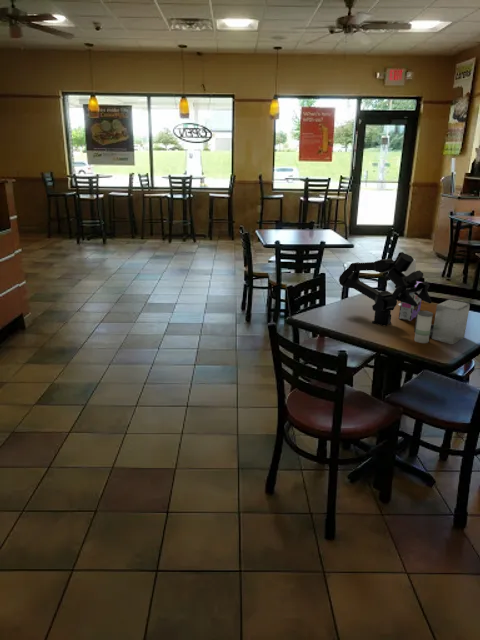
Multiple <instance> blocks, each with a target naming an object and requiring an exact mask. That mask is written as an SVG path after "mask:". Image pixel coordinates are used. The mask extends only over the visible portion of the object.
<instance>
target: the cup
mask: <svg viewBox="0 0 480 640" xmlns="http://www.w3.org/2000/svg"><path fill="white" fill-rule="evenodd" d="M433 316H434V313H433V312H432V311H428V310H420V311H418V317H417V324H416V330H415V332H414V342H416V343H419V344H428V343H429V340H430V336H429V335H430V329H431V324H432V321H433Z"/></svg>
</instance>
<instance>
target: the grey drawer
mask: <svg viewBox="0 0 480 640" xmlns="http://www.w3.org/2000/svg"><path fill="white" fill-rule="evenodd" d="M417 317H418V314H417V315H416V317H415V321H414V322H415V324H414V331H413V332H414V333H415V330H416V324H417ZM433 328H434V323H433V324H432V323H431V329H430V335H429V338H430V337H431V338H432V334H433Z"/></svg>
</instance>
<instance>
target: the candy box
mask: <svg viewBox="0 0 480 640" xmlns="http://www.w3.org/2000/svg"><path fill="white" fill-rule="evenodd" d="M422 282H423V281H419V280H418V281H417V284H416V285H415V287H417V285H418V284H419V283H422ZM410 296H411V297H412V298H413V299H414V300H415V302H416V303H417V304H418V305H417V306H416V307H415V306H413V305H410V304H407V303H404V302H401V301H400V303H401V305H400V306H399V314H398V319H400V320H403V321H409V322H411V321H412V320H414V319H416V315H417V314H418V311H421V306H422V301H423V300H422V299H420V298H419V297H417V295H415V294H414V293H410Z"/></svg>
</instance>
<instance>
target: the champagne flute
mask: <svg viewBox="0 0 480 640" xmlns="http://www.w3.org/2000/svg"><path fill="white" fill-rule="evenodd" d="M416 263H417V261H416V258H413V262H412V263H411V265H410V266H409V268H408V270H407V271H405V272H402V273H403V274H404V275H405V276H408V275H409V274H411V273H413V272H416ZM397 305H398V306H399V307H400V305H401V302H400V303H397Z"/></svg>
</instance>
